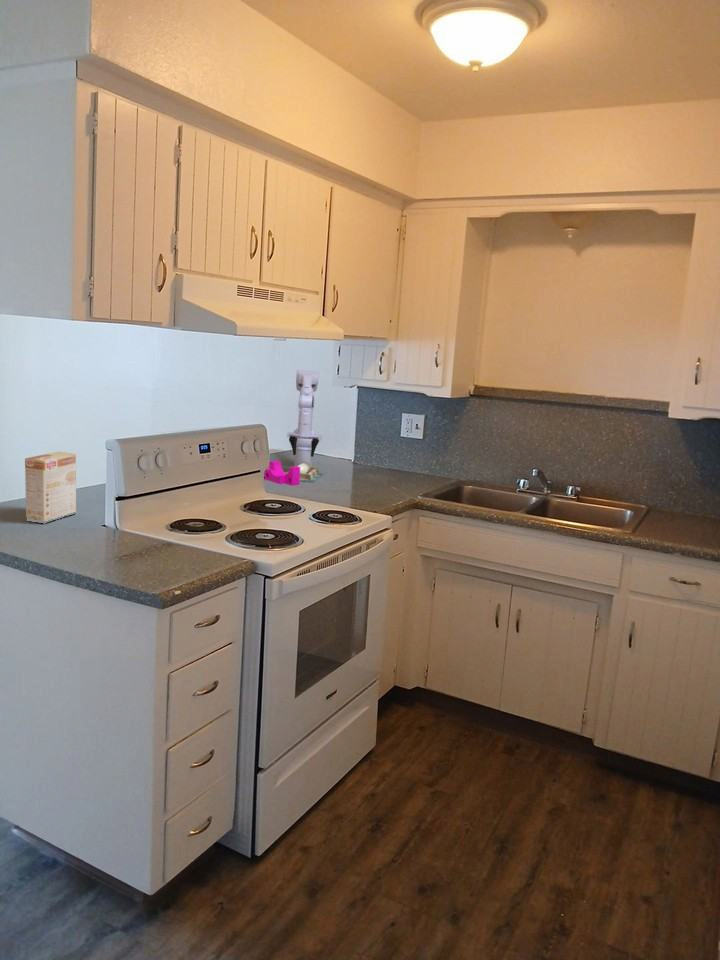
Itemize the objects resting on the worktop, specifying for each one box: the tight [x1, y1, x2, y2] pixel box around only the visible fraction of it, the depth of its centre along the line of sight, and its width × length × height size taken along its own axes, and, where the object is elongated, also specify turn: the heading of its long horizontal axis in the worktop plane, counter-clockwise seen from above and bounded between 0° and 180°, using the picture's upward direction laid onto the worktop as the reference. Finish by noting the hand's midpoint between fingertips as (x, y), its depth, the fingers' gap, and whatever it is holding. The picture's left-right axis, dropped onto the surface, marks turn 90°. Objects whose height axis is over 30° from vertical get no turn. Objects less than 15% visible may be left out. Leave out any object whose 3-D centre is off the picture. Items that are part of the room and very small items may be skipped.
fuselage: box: [298, 462, 312, 474], centre depth 328 cm, size 12×5×5 cm, turn 171°
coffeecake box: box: [24, 451, 77, 521], centre depth 235 cm, size 15×7×20 cm, turn 162°
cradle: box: [285, 465, 324, 483], centre depth 328 cm, size 20×14×3 cm
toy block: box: [263, 460, 300, 487], centre depth 314 cm, size 15×6×8 cm, turn 46°
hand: (303, 455), depth 327 cm, fingers open, 7 cm apart
